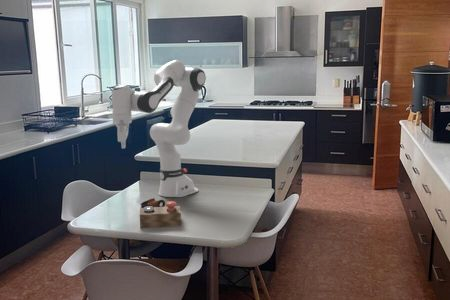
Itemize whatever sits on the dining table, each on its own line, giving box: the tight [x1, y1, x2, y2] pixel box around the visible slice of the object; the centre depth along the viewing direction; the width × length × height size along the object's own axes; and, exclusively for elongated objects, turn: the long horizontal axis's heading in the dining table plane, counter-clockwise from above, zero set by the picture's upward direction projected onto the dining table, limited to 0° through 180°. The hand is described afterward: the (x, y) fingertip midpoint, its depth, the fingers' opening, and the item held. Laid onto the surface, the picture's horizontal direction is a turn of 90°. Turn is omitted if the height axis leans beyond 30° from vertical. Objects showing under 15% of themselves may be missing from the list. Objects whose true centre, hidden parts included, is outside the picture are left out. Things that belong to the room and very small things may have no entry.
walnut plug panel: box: [139, 205, 182, 229], centre depth 211 cm, size 18×10×6 cm, turn 98°
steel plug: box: [144, 206, 154, 212], centre depth 210 cm, size 5×5×7 cm
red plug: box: [165, 200, 177, 211], centre depth 211 cm, size 5×5×7 cm
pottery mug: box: [140, 197, 166, 208], centre depth 226 cm, size 12×10×8 cm
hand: (123, 147), depth 225 cm, fingers closed
